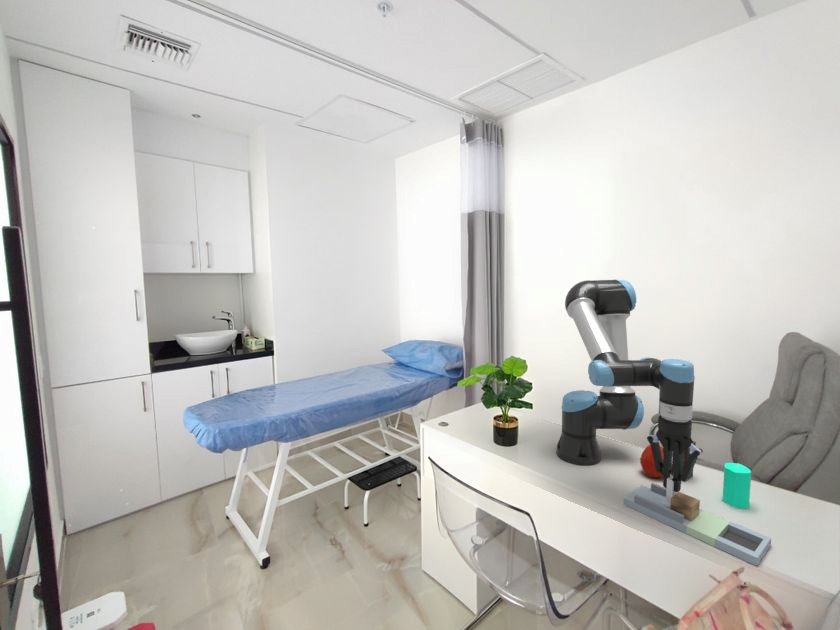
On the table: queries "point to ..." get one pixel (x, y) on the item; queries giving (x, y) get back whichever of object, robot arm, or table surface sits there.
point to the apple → (650, 462)
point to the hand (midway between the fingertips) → (671, 500)
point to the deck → (701, 525)
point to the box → (685, 458)
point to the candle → (736, 485)
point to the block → (685, 505)
